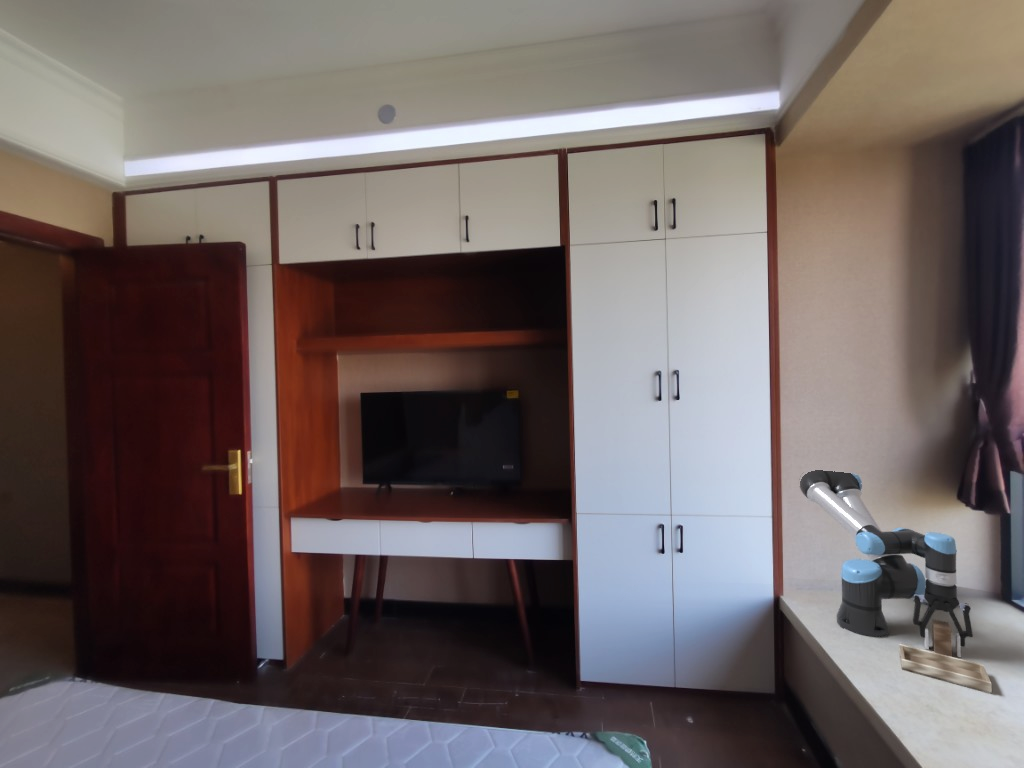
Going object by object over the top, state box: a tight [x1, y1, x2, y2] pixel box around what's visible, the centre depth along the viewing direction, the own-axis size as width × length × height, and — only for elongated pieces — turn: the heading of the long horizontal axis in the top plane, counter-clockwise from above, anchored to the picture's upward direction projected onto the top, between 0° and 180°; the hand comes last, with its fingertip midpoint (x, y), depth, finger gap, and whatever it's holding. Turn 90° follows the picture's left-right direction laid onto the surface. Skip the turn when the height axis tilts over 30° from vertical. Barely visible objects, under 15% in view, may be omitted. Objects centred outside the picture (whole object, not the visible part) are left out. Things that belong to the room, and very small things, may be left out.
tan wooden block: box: [931, 618, 953, 657], centre depth 152 cm, size 4×6×9 cm, turn 143°
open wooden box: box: [898, 643, 993, 694], centre depth 141 cm, size 20×11×3 cm, turn 53°
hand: (942, 651), depth 152 cm, fingers open, 7 cm apart
